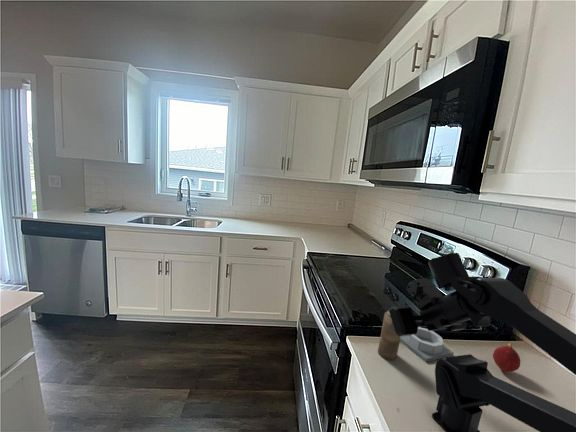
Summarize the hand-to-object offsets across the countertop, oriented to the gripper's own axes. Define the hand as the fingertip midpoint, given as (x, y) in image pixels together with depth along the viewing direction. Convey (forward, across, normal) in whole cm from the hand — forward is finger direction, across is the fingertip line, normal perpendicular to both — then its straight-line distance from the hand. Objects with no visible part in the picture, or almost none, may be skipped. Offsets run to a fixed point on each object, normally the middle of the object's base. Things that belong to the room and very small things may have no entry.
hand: (406, 326), depth 71 cm
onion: (+3, -29, +13) cm, 32 cm away
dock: (+12, -14, +4) cm, 19 cm away
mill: (+11, 0, +5) cm, 12 cm away
